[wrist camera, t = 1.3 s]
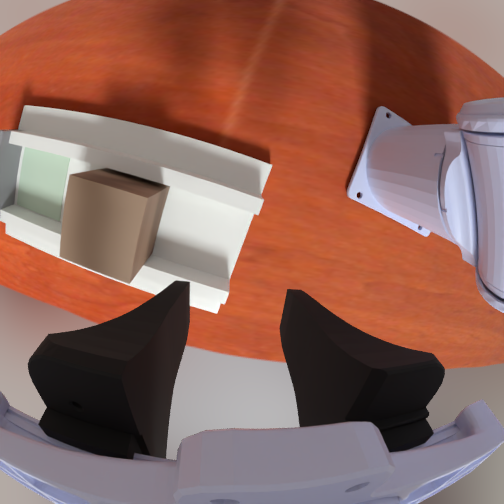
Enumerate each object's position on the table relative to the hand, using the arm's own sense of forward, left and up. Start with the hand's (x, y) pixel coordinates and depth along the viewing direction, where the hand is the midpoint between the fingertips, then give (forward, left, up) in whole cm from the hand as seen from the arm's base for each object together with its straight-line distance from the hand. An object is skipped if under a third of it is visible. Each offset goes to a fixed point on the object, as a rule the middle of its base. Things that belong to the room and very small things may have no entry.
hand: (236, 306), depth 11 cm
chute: (+11, 0, -9) cm, 14 cm away
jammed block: (+8, 0, -8) cm, 11 cm away
